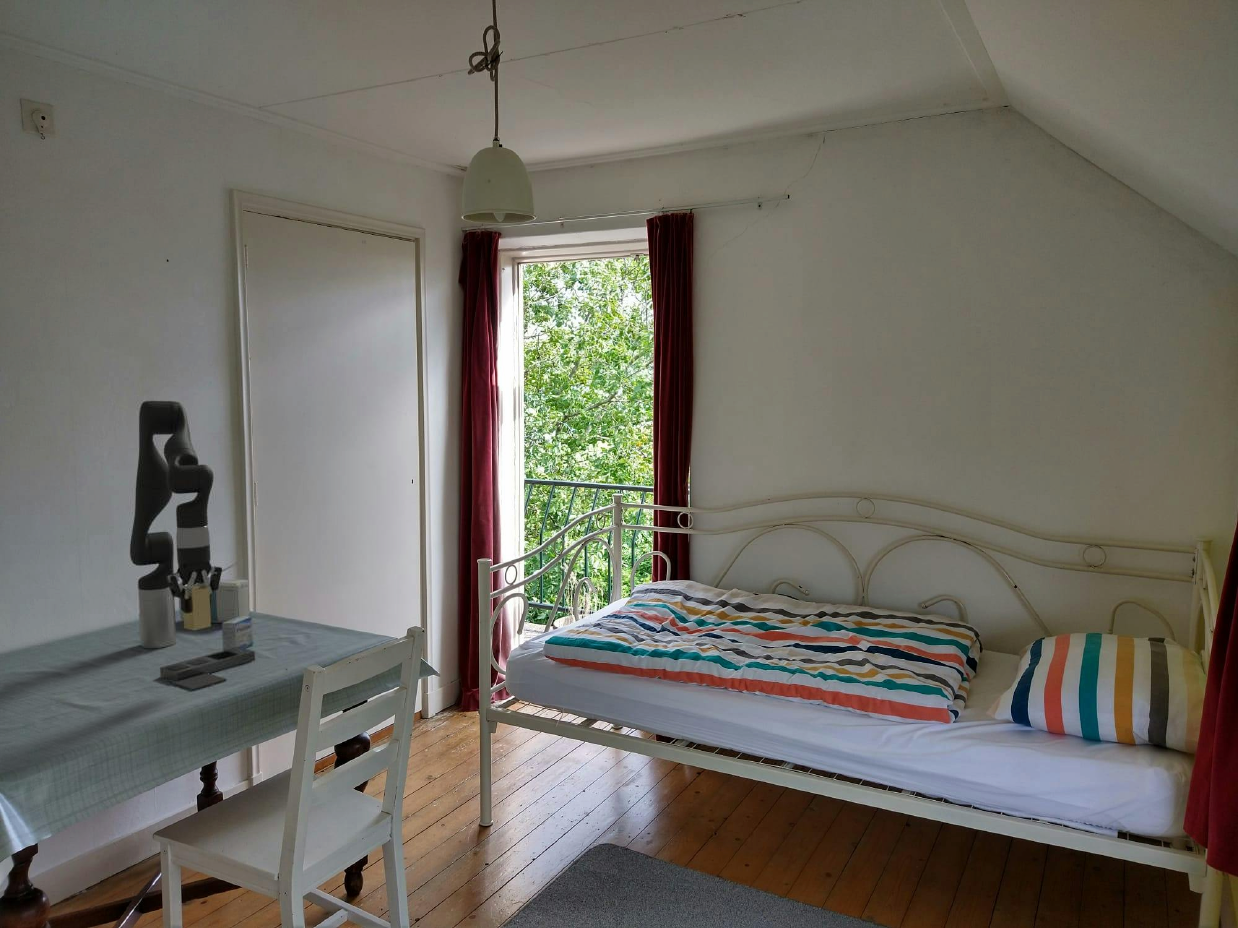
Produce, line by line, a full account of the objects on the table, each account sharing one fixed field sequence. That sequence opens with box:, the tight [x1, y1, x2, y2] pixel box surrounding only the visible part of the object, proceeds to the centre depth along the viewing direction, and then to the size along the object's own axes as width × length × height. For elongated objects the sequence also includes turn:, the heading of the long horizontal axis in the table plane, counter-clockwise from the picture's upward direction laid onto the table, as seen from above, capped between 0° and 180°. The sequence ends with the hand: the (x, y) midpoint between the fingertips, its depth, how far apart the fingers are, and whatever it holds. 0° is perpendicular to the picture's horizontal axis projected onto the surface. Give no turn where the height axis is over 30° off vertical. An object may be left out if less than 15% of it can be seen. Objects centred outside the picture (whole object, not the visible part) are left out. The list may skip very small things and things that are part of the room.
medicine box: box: [221, 616, 254, 651], centre depth 250 cm, size 8×4×9 cm, turn 168°
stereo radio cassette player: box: [178, 559, 250, 624], centre depth 281 cm, size 21×8×20 cm, turn 80°
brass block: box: [183, 586, 212, 631], centre depth 219 cm, size 4×4×10 cm
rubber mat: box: [172, 673, 227, 692], centre depth 221 cm, size 9×9×1 cm
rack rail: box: [159, 647, 256, 682], centre depth 232 cm, size 8×22×3 cm, turn 147°
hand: (196, 610), depth 219 cm, fingers closed on brass block, 4 cm apart
